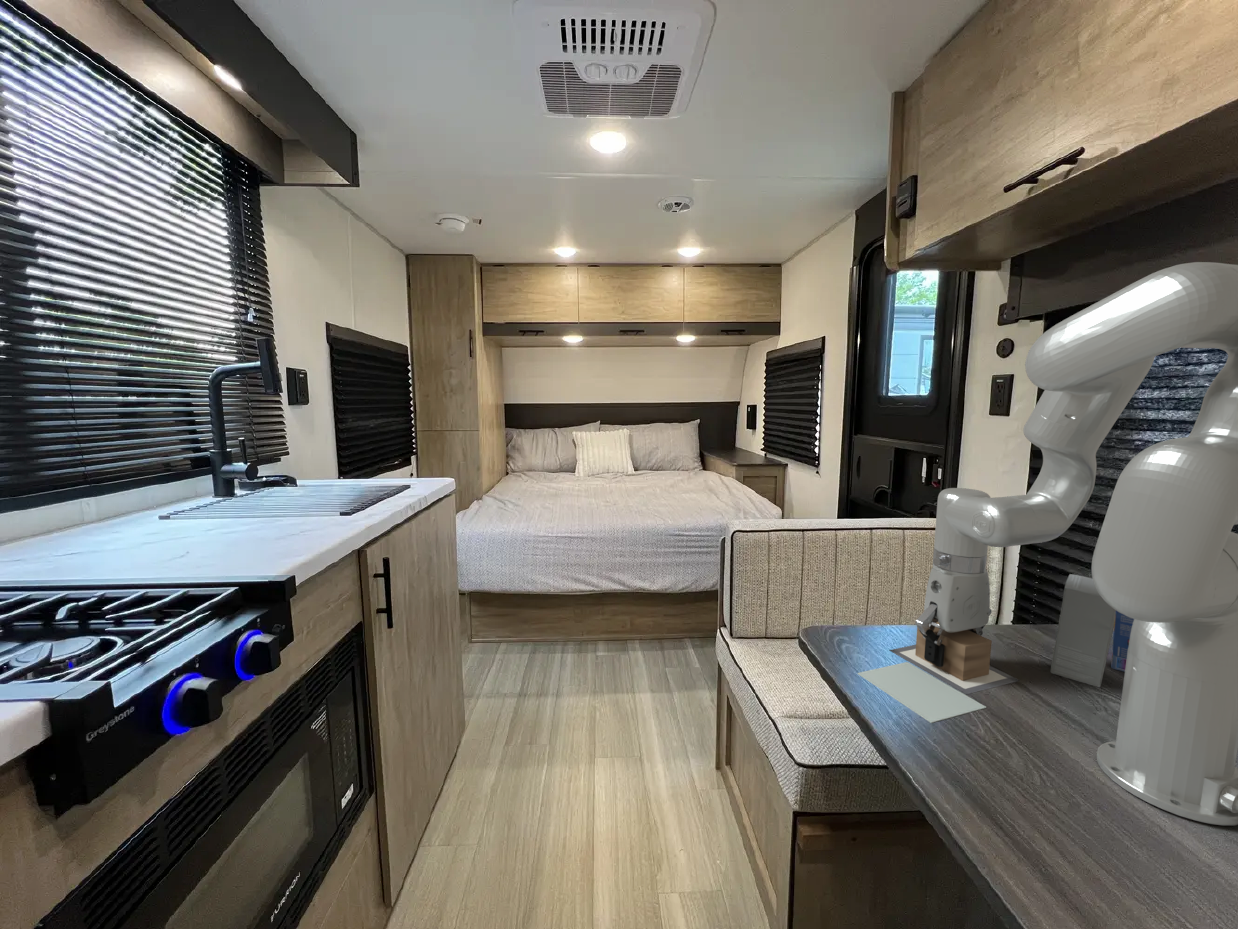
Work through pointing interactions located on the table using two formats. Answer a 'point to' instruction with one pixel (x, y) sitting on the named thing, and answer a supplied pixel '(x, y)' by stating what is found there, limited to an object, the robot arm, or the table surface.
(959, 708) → the sage mat
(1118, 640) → the ink cartridge box
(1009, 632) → the table surface
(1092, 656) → the skincare box
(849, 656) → the table surface
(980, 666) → the walnut block
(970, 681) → the grey framed panel
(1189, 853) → the table surface
